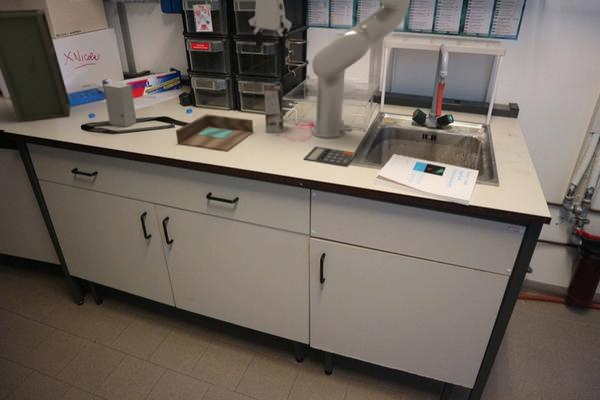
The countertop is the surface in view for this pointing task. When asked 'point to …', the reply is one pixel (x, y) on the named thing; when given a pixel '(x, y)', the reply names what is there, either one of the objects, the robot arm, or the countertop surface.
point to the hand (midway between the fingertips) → (270, 46)
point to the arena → (215, 132)
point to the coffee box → (274, 108)
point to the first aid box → (31, 66)
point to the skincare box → (120, 104)
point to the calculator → (330, 156)
